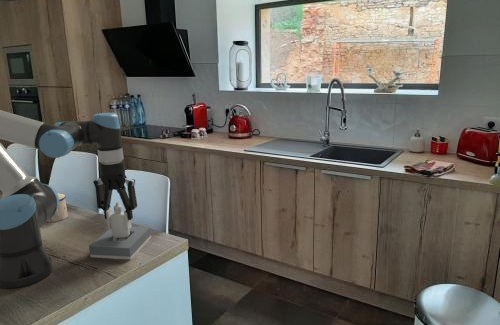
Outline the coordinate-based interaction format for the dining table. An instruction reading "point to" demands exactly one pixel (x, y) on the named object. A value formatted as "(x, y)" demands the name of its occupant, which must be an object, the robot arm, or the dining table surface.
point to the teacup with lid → (60, 210)
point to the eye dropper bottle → (118, 223)
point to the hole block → (120, 244)
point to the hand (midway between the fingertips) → (120, 228)
